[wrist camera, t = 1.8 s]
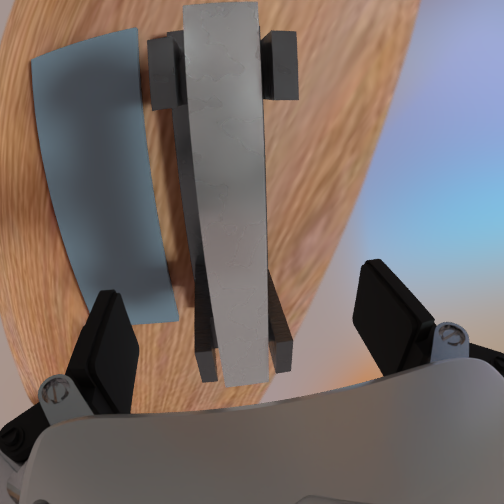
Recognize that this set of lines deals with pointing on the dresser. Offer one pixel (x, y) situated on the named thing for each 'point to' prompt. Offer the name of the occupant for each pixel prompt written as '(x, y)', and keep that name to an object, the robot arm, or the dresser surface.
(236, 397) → the dresser surface
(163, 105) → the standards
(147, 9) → the dresser surface
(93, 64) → the mat
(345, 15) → the dresser surface
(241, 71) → the rail
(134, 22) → the dresser surface
